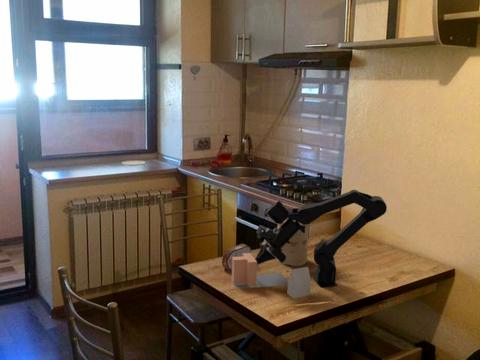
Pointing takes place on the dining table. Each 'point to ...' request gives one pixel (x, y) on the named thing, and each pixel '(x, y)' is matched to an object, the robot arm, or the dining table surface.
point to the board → (265, 281)
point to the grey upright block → (299, 282)
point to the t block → (244, 269)
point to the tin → (234, 254)
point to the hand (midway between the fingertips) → (254, 263)
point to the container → (296, 248)
